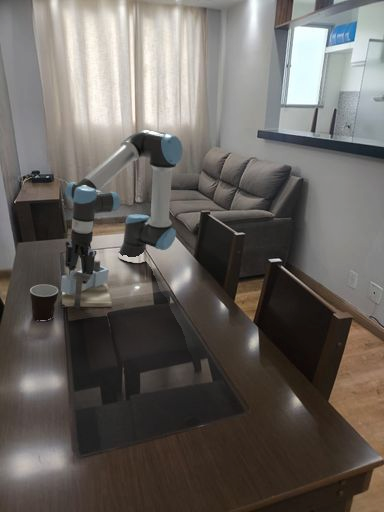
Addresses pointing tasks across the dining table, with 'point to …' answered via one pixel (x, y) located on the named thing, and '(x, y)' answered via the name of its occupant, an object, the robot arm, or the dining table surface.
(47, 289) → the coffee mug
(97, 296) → the pintle plate
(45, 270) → the dining table surface
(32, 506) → the dining table surface
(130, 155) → the robot arm
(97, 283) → the link
